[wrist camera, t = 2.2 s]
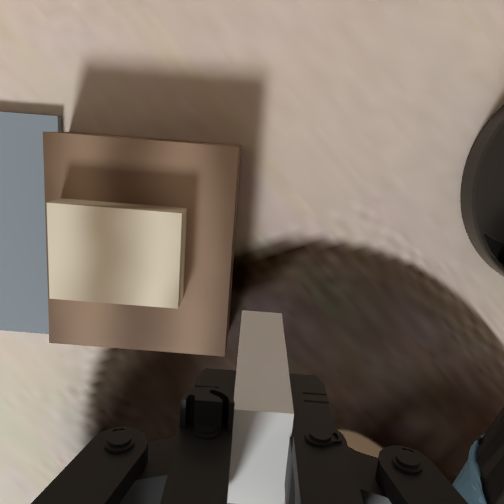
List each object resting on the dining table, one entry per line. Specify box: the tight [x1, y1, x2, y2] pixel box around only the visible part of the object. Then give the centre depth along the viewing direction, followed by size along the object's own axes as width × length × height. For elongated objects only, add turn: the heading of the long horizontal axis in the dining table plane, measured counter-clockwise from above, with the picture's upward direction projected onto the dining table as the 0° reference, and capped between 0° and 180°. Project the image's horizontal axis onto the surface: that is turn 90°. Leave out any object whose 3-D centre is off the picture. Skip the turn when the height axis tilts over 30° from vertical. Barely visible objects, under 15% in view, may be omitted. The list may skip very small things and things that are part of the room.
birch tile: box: [47, 198, 187, 309], centre depth 29 cm, size 8×6×2 cm
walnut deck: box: [43, 132, 241, 356], centre depth 32 cm, size 12×14×4 cm
